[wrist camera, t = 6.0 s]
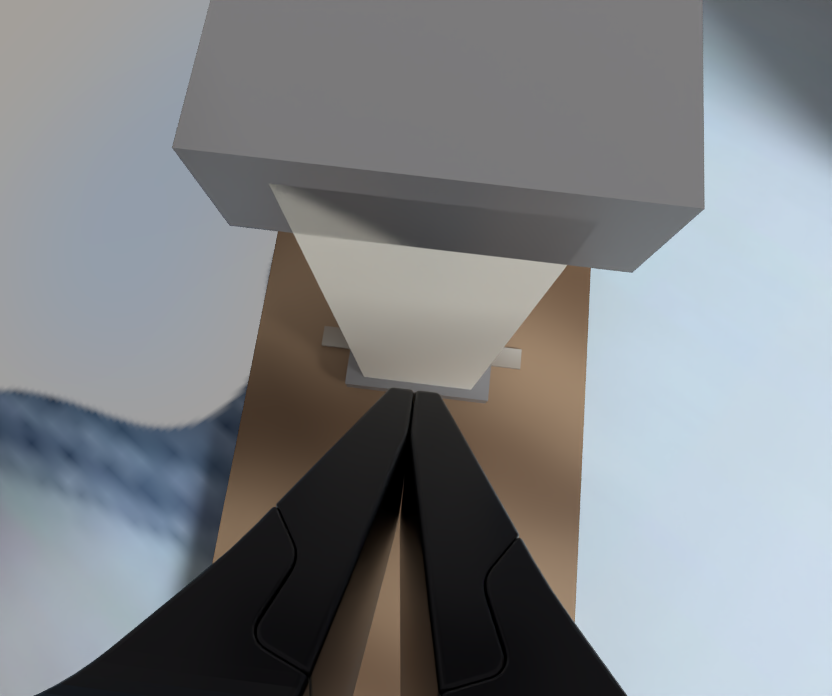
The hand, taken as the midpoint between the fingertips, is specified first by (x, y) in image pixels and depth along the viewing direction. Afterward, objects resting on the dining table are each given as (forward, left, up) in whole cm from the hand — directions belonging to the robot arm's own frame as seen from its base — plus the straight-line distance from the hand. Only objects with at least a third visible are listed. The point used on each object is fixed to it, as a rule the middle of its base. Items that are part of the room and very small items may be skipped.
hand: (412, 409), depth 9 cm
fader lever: (+1, -3, -6) cm, 6 cm away
